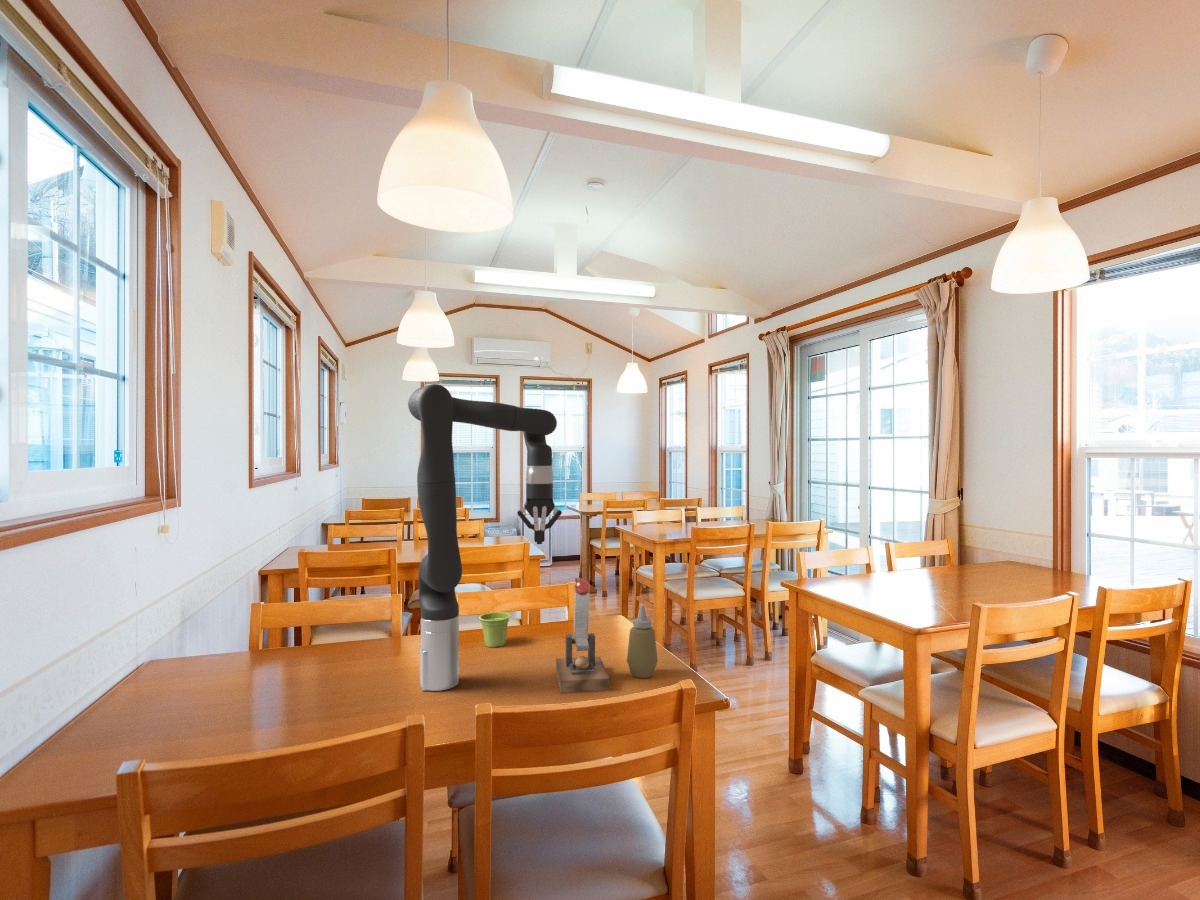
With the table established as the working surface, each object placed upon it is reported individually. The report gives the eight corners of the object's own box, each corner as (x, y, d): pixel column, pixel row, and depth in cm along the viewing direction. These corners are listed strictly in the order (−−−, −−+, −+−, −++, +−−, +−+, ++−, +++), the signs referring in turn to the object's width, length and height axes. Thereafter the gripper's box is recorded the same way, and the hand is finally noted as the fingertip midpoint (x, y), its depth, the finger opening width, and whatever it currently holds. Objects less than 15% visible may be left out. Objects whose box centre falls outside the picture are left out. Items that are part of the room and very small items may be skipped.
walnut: (578, 673, 152) (578, 659, 152) (573, 668, 155) (573, 655, 155) (591, 671, 153) (591, 657, 153) (585, 666, 156) (585, 653, 156)
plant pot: (473, 647, 181) (473, 618, 181) (488, 638, 190) (488, 611, 190) (501, 650, 178) (501, 621, 178) (515, 641, 187) (515, 613, 187)
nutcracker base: (560, 693, 147) (560, 649, 147) (556, 669, 162) (556, 630, 162) (609, 690, 148) (609, 647, 148) (600, 667, 164) (600, 628, 164)
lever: (574, 651, 153) (576, 592, 147) (572, 633, 160) (574, 576, 154) (590, 650, 153) (593, 591, 148) (587, 632, 160) (589, 576, 155)
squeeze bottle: (658, 680, 155) (658, 610, 155) (627, 680, 155) (627, 610, 155) (656, 669, 163) (656, 602, 163) (626, 669, 163) (626, 602, 163)
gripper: (515, 482, 164) (515, 546, 164) (564, 482, 166) (564, 545, 166) (515, 481, 172) (515, 542, 172) (562, 481, 174) (562, 541, 173)
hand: (539, 543), depth 169 cm, fingers closed
